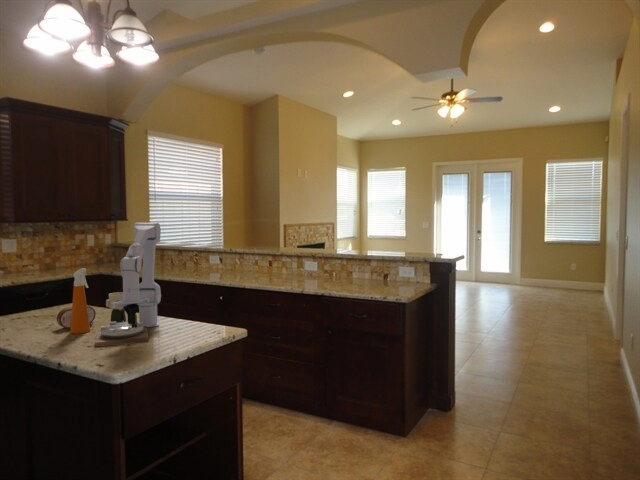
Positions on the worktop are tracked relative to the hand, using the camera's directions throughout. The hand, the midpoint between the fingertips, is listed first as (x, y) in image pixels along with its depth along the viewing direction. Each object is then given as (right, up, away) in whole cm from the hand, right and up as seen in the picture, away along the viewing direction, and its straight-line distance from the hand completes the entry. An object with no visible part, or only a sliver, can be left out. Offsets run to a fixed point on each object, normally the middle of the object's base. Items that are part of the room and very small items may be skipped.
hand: (131, 323), depth 173 cm
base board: (-5, -6, +3) cm, 8 cm away
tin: (-31, -5, +20) cm, 37 cm away
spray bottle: (-24, -5, +10) cm, 26 cm away
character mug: (-16, -4, +25) cm, 30 cm away
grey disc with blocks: (-5, -4, +3) cm, 7 cm away
